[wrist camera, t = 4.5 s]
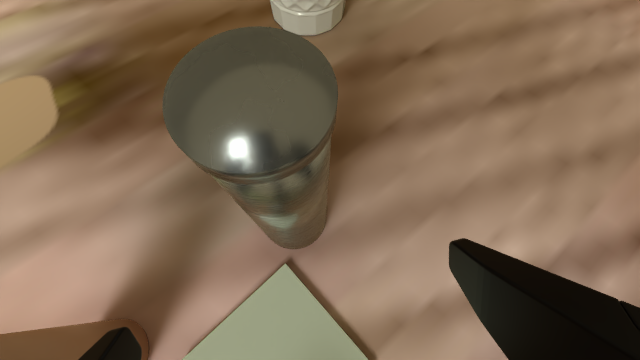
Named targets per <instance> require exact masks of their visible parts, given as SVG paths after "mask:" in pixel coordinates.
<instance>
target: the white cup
mask: <svg viewBox="0 0 640 360" xmlns="http://www.w3.org/2000/svg"><path fill="white" fill-rule="evenodd" d="M345 2H346V0H270V3H271V7H272V12H273V16H274V20H275V21H276V22H277V23H278V24H279V25H280V26H281V27H282V28H283V29H284V30H287V31H289V32H292V33H294V34H297V35H318V34H321V33H323V32H326V31H329V30H331V29H332V28H333V27H334V26H335V25H336V24H337V23H338V22H339V21H341V19H342V16H343V12H344V8H345Z"/></svg>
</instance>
